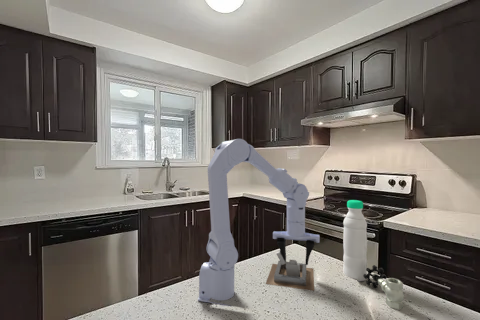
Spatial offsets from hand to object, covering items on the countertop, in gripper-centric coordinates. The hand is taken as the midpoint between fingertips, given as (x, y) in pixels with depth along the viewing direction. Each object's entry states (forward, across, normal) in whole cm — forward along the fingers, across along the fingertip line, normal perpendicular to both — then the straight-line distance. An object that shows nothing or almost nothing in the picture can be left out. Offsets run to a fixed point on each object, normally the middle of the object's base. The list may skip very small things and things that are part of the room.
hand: (295, 262), depth 80 cm
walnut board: (+5, +2, 0) cm, 6 cm away
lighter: (+4, +2, +1) cm, 5 cm away
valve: (+6, -25, +4) cm, 26 cm away
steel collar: (+4, +2, 0) cm, 5 cm away
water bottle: (+6, -18, -7) cm, 21 cm away
